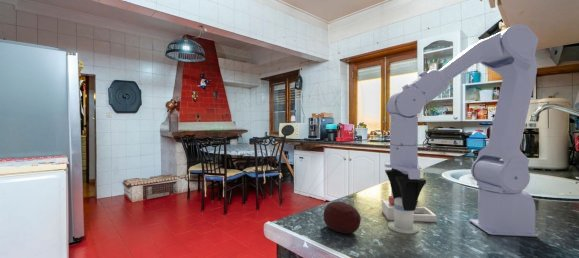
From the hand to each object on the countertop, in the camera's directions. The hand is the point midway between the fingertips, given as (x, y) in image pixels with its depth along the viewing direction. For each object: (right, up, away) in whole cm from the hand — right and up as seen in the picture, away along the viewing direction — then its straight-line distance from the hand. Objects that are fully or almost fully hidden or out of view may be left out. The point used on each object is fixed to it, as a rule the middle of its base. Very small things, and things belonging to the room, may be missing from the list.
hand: (403, 204), depth 59 cm
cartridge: (0, -5, 0) cm, 5 cm away
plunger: (+1, -4, +8) cm, 9 cm away
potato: (-14, -6, -1) cm, 15 cm away
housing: (+4, -5, +8) cm, 10 cm away
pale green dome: (0, -5, 0) cm, 5 cm away
